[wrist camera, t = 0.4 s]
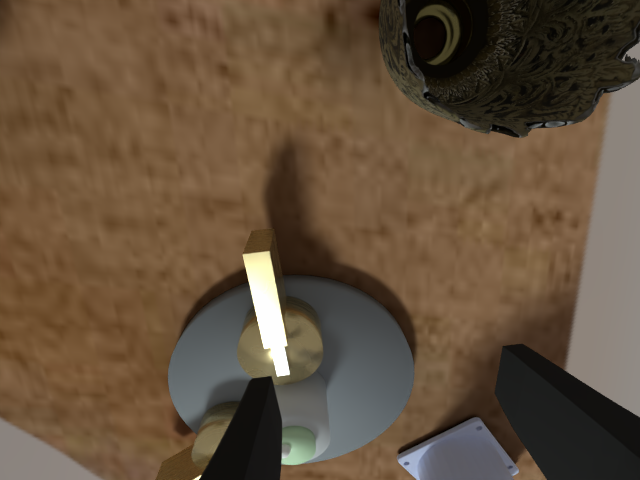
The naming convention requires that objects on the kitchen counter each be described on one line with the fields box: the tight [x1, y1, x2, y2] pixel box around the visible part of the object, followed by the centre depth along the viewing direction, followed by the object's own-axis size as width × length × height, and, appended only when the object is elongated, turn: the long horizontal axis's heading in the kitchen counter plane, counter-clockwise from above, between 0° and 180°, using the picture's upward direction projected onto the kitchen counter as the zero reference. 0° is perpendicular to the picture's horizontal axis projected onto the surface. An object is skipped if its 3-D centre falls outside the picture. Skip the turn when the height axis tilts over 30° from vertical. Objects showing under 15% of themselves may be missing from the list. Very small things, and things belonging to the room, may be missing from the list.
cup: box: [379, 0, 640, 137], centre depth 11 cm, size 8×7×8 cm
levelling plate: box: [168, 275, 414, 465], centre depth 20 cm, size 17×17×6 cm
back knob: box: [156, 402, 240, 480], centre depth 21 cm, size 9×5×3 cm, turn 126°
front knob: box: [237, 228, 323, 385], centre depth 17 cm, size 9×5×3 cm, turn 6°
